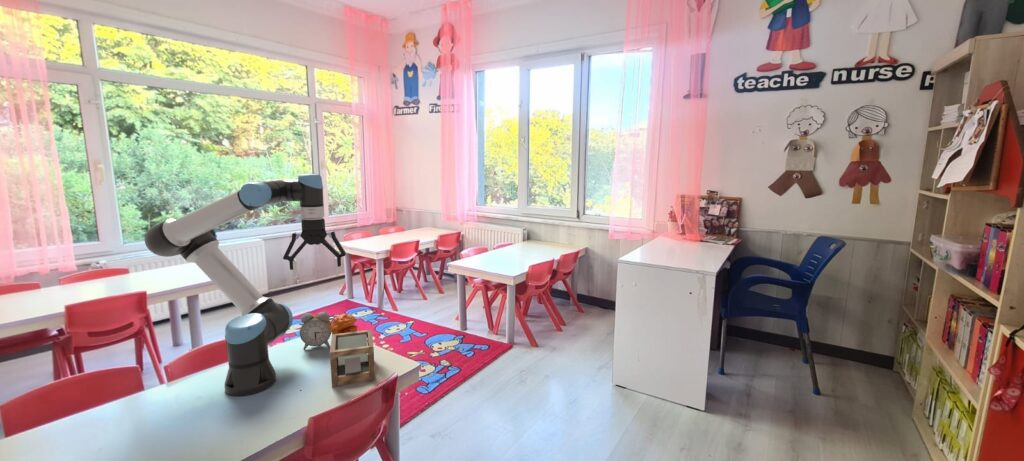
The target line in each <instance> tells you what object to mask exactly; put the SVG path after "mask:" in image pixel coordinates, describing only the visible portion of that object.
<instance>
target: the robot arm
mask: <svg viewBox="0 0 1024 461" xmlns="http://www.w3.org/2000/svg"><path fill="white" fill-rule="evenodd" d="M297 176H298V177H297V179H280V178H279V179H278V178H274V179H273V178H272V179H266V180H260V181H258V180H257V181H254V180H253V181H251V182H246V183H244V184H243V185H242V186H241V187H240V189H239V190H236V191H234V192H232V193H229V194H227V195H225V196H224V197H221V198H219V199H217V200H214V201H212V202H211V203H208V204H206V205H203V206H202V207H199V208H198V209H196V210H193V211H190V212H189V213H187V214H185V215H183V216H180V217H178V218H169V219H166V220H164V221H161V222H159V223H156V224H154V225H153V226H151V227H150V228H149V229H148V230H147V231H146V233H145V236H144V244H145V246H146V248H147V249H148V250H149V251H150V252H151V253H153V254H154V255H157V256H159V257H167V258H168V257H175V256H179V255H180V256H181V257H182V258H183V259H184V260H185V262H188V263H194V264H195V265H196V266H197V267H198V268H199V269H200V270H201V271H202V272H203V273H204V274H205V275H206V277H208V278H209V280H210V281H211V282H212V283H213V284H214V285H215V286H216V287H217V288H218V289H219V290H220V291H221V292H222V293H223V294H224V295H225V296H226V298H227V299H228V300H229V301H230V302H231V303H232V304H233V305H234V306H235V307H236V308H237V309H238V310H239V311H240V312H241V315H238V316H236V317H234V318H233V319H231V320H229V321H228V323H226V325H225V327H224V328H225V329H224V330H225V332H224V333H225V334H224V339H225V343H226V344H225V346H226V351H227V360H228V361H227V362H228V370H227V372H226V378H225V381H224V392H225V393H226V394H227V395H230V396H233V397H241V396H242V397H243V396H249V395H255V394H257V393H260V392H262V391H265V390H267V389H269V388H271V387H272V386H273V385H274V384H275V383H276V382H277V372H276V370H275V367H274V366H273V364H272V362H271V360H270V357H269V345H270V344H272V343H273V342H275V341H276V340H277V339H279V338H281V337H282V336H284V335H285V334H286V333H287V331H289V330H290V329H291V327H292V325H293V319H294V316H293V312H292V310H291V309H290V307H289V306H288V305H286V304H285V303H280V302H275V301H274V299H272V297H271V296H269V297H267V296H263V294H261V293H260V291H258V290H259V289H257V288H256V287H255V286H254V285H253V284H252V283H251V282H250V280H249V279H248V278H247V277H246V276H245V275H244V274H243V273H242V272H241V270H239V268H238V267H237V266H236V265H235V264H234V263H233V262H232V260H230V259H229V258H228V257H227V256H226V254H225V253H224V252H223V251H222V250H221V248H219V246H220V245H219V244H220V241H219V240H218V238H217V237H218V235H217V229H216V228H219V227H221V226H222V225H225V224H227V223H229V222H232V221H233V220H236V219H237V218H240V217H242V216H244V215H247V214H248V213H251V212H252V211H255V210H257V209H260V208H262V207H264V206H266V205H271V204H276V203H277V204H278V203H280V202H299V204H300V205H299V207H300V217H301V222H300V223H301V232H296V231H294V232H293V233H292V234H291V241H290V242H289V245H288V246H287V248H286V251H285V253H284V255H283V257H282V259H283V260H285V261H288V262H289V270H291V271H293V280H297V278H298V269H297V268H298V267H297V259H295V258H296V257H297V256H298V254H299V253H300V252H301V251H302V250H303V249H304V247H305V246H306V245H307V244H308V245H309V246H314V245H319V246H320V244H322V245H323V246H324V247H325V248H327V250H328V251H329V252H331V254H332V255H333V256H335V257H334V269H335V277H338V276H339V267H341V265H342V258H343V257H345V256H346V255H347V253H346V251H345V249H344V247H343V246H342V244H341V243H340V241H339V239H338V238H337V236H336V231H335V230H331V231H327V230H326V219H325V218H324V217H325V204H324V184H323V177H322V175H321V174H317V173H300V174H299V175H297ZM327 236H328V237H329V238H331V239H332V241H333V242H334V245H335V246H336V247H337V249H338V250H337V249H335V248H334V246H332V245H331V244H330V243H329V242H328V241H327V240H326V238H327ZM299 238H302V240H303V241H302V243H301V244H300V245H299V246H298V248H297V249H296V250H295V251H294V252H293V253H292V254H291V251H292V250H293V248H294V245H295V243H296V241H297V240H298V239H299ZM338 251H339V252H338ZM290 254H291V255H290Z"/></svg>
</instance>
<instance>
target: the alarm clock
mask: <svg viewBox="0 0 1024 461" xmlns="http://www.w3.org/2000/svg"><path fill="white" fill-rule="evenodd" d="M300 321H301V323H302V325H301V327H300V329H299V337H300V339H301V341H302V342H303V344H304V346H303V350H304V351H305V350H306V349H307V348H308V347H309V346H310V347H320V346H323V345H325V346H327V347H328V348H330V346H331V344H330V343H329V339H331V336H332V332H331V330H330V323H331V321H330V314H329V313H328V312H327V311H320V312H318V313H316V314H315V315H314V314H312V313H310V312H306V313H303V314H302V315H301V318H300ZM331 324H332V323H331Z"/></svg>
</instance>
